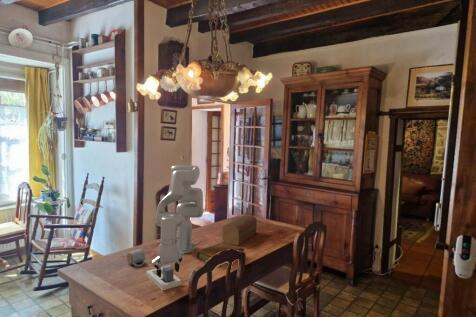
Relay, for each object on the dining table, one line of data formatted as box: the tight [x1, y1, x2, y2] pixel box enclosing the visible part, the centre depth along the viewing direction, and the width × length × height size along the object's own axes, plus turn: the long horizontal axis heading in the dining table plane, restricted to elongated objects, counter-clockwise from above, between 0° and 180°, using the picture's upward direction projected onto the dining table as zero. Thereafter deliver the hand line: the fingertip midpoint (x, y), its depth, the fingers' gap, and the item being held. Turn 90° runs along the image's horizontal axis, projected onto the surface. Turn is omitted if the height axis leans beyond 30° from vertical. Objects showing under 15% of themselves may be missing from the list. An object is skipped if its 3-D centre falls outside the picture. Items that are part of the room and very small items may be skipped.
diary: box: [196, 242, 245, 267], centre depth 190 cm, size 23×19×6 cm
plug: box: [162, 264, 175, 283], centre depth 154 cm, size 4×4×9 cm
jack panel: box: [145, 266, 182, 291], centre depth 158 cm, size 10×20×2 cm, turn 39°
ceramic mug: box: [126, 248, 146, 268], centre depth 177 cm, size 11×8×8 cm
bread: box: [221, 214, 257, 247], centre depth 228 cm, size 14×34×14 cm, turn 155°
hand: (168, 273), depth 154 cm, fingers open, 9 cm apart
